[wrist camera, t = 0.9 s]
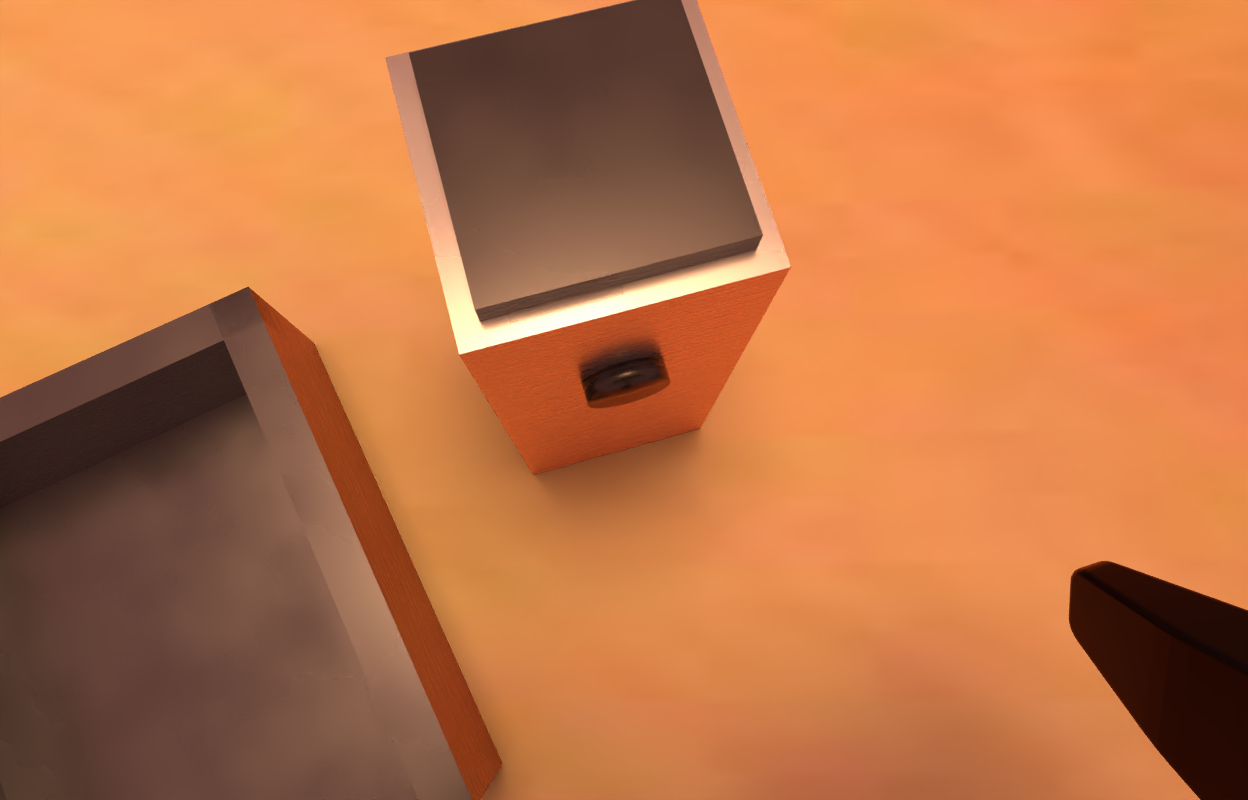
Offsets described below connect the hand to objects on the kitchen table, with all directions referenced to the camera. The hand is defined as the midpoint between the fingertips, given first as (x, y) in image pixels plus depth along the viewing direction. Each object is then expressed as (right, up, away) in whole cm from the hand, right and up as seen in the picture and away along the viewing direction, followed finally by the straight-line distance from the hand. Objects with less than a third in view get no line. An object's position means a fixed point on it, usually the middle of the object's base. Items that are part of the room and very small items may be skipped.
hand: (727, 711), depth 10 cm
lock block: (-2, +5, +14) cm, 15 cm away
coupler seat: (-13, -3, +12) cm, 18 cm away
